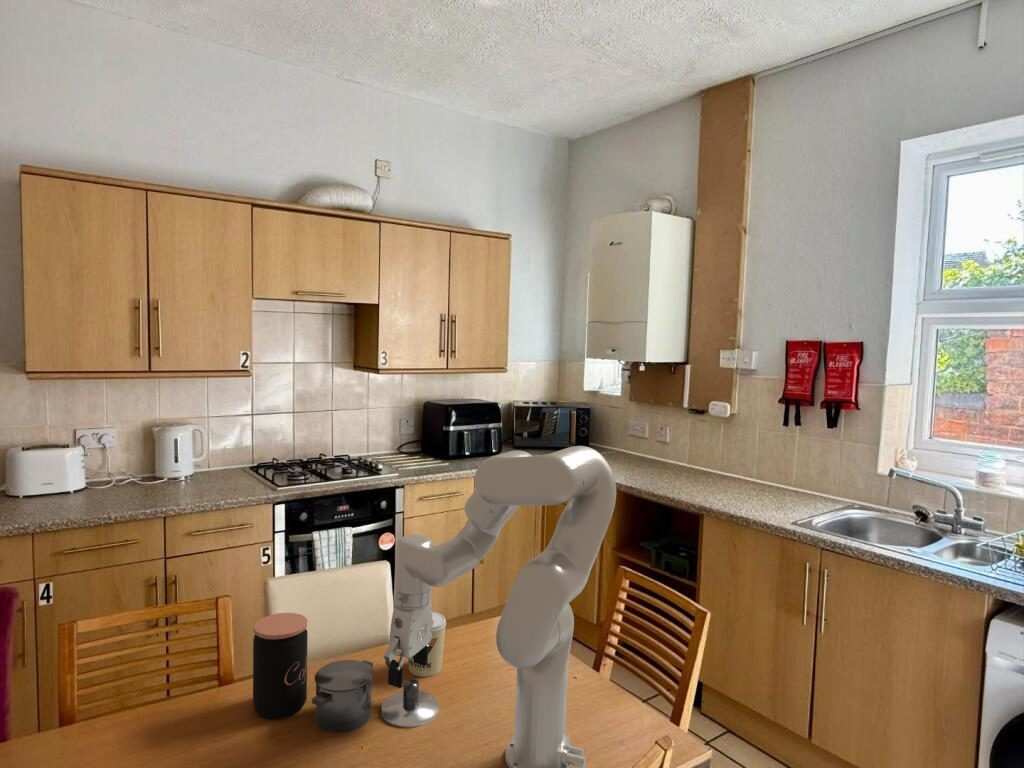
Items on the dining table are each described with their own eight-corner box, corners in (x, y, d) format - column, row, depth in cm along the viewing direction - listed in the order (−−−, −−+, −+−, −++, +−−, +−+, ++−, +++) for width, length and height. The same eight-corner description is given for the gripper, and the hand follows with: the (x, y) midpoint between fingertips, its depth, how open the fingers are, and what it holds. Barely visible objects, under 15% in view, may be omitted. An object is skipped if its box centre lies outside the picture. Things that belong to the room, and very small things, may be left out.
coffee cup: (398, 674, 148) (399, 624, 148) (415, 655, 157) (416, 608, 157) (435, 681, 146) (436, 630, 145) (451, 662, 155) (452, 614, 154)
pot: (390, 702, 137) (391, 662, 136) (340, 747, 122) (341, 701, 121) (346, 689, 141) (346, 650, 141) (293, 730, 126) (293, 686, 125)
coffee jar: (289, 725, 128) (290, 638, 127) (241, 717, 130) (242, 631, 129) (316, 696, 138) (317, 615, 137) (271, 689, 140) (272, 609, 139)
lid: (449, 704, 138) (450, 676, 137) (420, 735, 127) (420, 705, 126) (401, 690, 142) (402, 663, 142) (369, 719, 131) (370, 690, 131)
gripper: (404, 616, 123) (400, 700, 125) (448, 585, 139) (444, 660, 141) (372, 607, 126) (368, 689, 128) (418, 578, 142) (414, 651, 144)
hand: (408, 674), depth 134 cm, fingers open, 9 cm apart
